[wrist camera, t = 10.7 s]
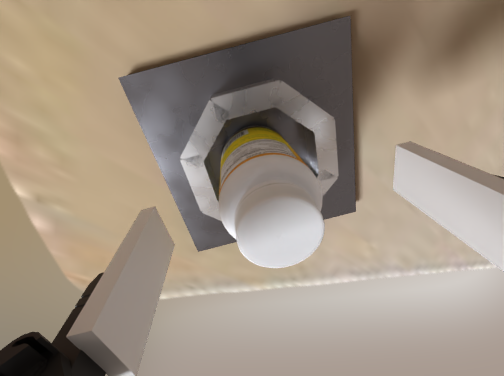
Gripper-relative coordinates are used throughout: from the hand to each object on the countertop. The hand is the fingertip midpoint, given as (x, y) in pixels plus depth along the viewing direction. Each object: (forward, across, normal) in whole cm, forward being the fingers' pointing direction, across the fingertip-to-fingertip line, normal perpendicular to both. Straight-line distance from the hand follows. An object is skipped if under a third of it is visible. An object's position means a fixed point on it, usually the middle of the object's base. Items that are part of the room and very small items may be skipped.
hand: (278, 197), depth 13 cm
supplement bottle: (+7, 0, 0) cm, 7 cm away
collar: (+8, 0, 0) cm, 8 cm away
